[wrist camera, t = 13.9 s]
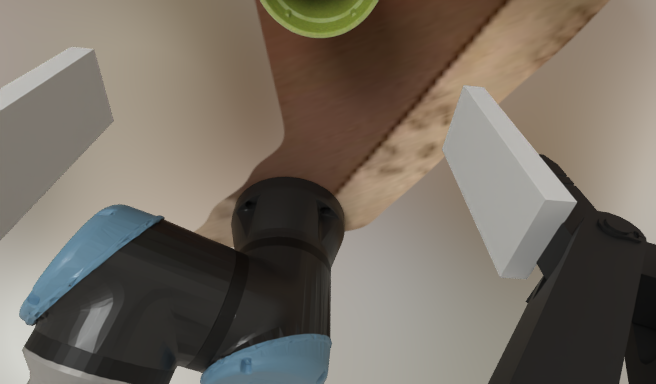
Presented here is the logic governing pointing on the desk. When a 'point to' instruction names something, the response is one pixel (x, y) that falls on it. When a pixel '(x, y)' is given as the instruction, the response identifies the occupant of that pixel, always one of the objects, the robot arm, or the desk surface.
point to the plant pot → (319, 15)
